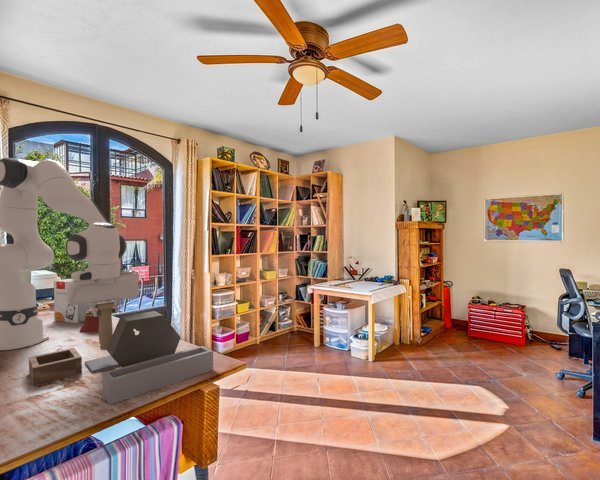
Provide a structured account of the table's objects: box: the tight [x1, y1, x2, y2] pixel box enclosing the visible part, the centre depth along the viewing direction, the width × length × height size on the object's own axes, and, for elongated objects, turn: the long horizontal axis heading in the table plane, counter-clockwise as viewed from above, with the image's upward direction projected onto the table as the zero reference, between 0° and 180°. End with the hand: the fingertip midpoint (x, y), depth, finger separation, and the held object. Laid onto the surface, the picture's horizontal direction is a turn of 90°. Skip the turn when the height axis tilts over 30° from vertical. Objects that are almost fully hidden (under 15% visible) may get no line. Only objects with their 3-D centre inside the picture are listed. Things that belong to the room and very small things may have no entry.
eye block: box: [28, 347, 83, 387], centre depth 98 cm, size 12×12×5 cm
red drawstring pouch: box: [79, 307, 99, 333], centre depth 144 cm, size 9×9×9 cm
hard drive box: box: [53, 278, 92, 324], centre depth 159 cm, size 16×8×20 cm, turn 73°
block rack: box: [101, 345, 214, 405], centre depth 92 cm, size 7×29×6 cm, turn 135°
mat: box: [84, 354, 121, 374], centre depth 105 cm, size 10×10×1 cm
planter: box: [105, 310, 181, 368], centre depth 99 cm, size 17×8×21 cm
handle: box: [95, 301, 115, 351], centre depth 105 cm, size 5×6×15 cm
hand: (105, 314), depth 105 cm, fingers closed on handle, 3 cm apart
